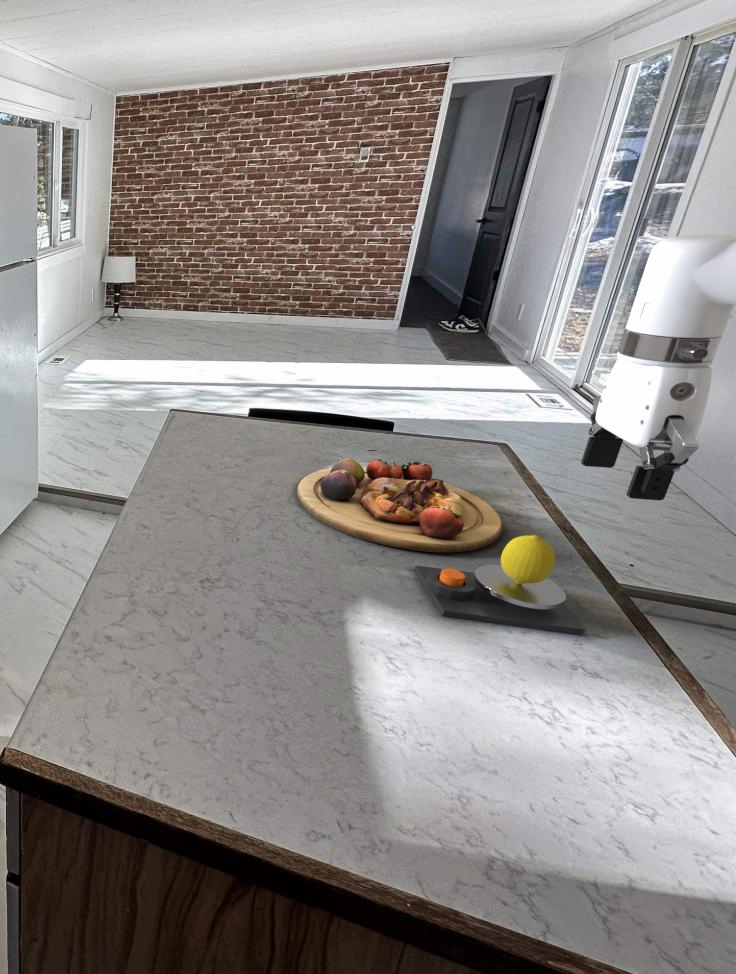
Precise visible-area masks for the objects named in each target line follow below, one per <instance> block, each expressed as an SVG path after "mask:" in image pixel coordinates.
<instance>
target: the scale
mask: <svg viewBox="0 0 736 974" xmlns="http://www.w3.org/2000/svg"><path fill="white" fill-rule="evenodd" d="M443 569H444V568H439V567H432V566H422V565H415V566H414V571H413V572H414V574H415V575H416V577H417V578H418V580H419V581H420V583H421V585H422V586H423V588H424V590H425V591H426V593H427V594H428V596H429V598H430V599H431V601H432V602H433V604H434V606H435V608H436V609H437V611H438V612H439V614H440V616H441V617H443V618H450V619H458V620H465V621H472V622H479V623H488V624H494V625H501V626H509V627H515V628H522V629H530V630H538V631H543V632H544V631H545V632H551V633H558V634H566V635H572V636H573V635H574V636H581V637H583V635H584V633H585V628H584V627H583V626H582V625H581V624H580V623H579V621H578V620H577V619H576V618H575V617H574V616H573V615H572V614H571V612H569V610H568V609H567V608H566V607H565V606H564V604H563V605H562V606H561V607H559V608H556V609H546V610H545V609H533V608H527V607H523V606H519V605H515V604H512V603H509V602H506V601H503V600H501V599H499V598H496V597H494V596H492V595H491V594H489V593H487V592H486V591H484V590H483V589H481V588H480V587H479V586H478V585H477V584H476V582H475V581H474V573H475V571H474V572H473V571H464V570H459V571H460V572H462V573H463V574H464V575H465V580H464V583H463V586H462V587H455V586H450V585H447V584H444V583H443V582H441V581H440V580H439V578H440V574H441V571H442V570H443Z"/></svg>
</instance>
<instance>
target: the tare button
mask: <svg viewBox="0 0 736 974" xmlns="http://www.w3.org/2000/svg"><path fill="white" fill-rule="evenodd" d="M442 569H443V570H442V571H441V574H440V578H439V580H440V581H441V582H443V583H444V584H447V585H450V586H455V587H462V586H463V583H464V580H465V575H464V574H463V573H462V572H460V571H461V570H457V569H454V568H448V567H447V568H442Z"/></svg>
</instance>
